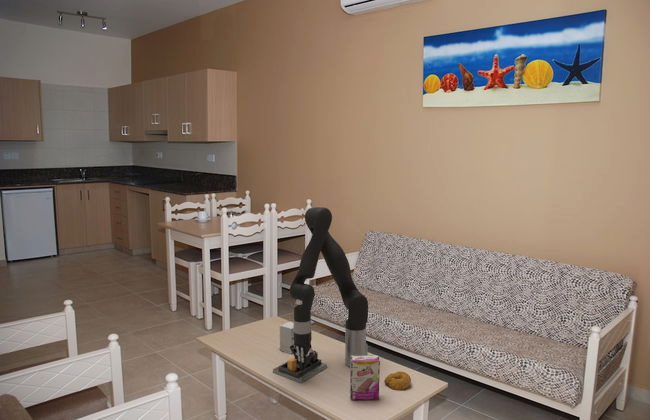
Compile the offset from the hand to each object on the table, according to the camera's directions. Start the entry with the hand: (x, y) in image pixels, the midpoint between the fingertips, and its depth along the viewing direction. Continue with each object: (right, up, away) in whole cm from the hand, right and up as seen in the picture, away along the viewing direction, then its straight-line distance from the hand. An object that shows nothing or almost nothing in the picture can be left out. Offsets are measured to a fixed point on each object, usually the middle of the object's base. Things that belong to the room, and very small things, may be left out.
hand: (302, 369), depth 208 cm
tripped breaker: (-5, -2, +4) cm, 7 cm away
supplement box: (-7, 0, +30) cm, 31 cm away
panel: (-2, -3, +9) cm, 9 cm away
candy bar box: (+25, -6, -15) cm, 30 cm away
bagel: (+39, -5, -5) cm, 40 cm away
